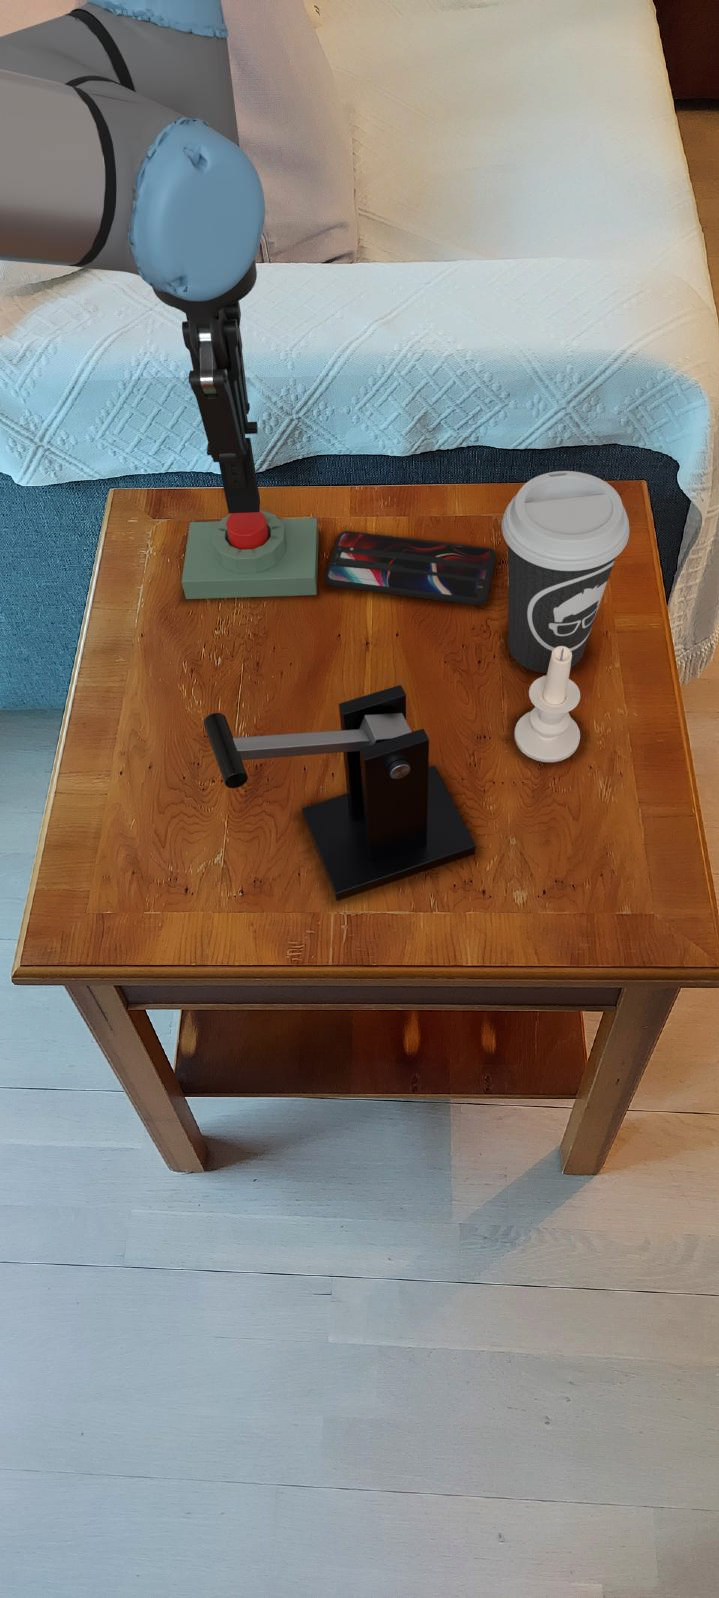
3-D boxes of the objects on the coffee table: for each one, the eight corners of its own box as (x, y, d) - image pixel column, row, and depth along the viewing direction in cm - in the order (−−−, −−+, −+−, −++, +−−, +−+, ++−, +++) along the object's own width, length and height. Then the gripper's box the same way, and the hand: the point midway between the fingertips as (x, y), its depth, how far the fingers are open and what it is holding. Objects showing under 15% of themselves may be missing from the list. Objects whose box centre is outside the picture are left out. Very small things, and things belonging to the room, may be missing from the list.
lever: (221, 794, 61) (228, 768, 59) (200, 734, 63) (206, 707, 62) (410, 776, 66) (422, 752, 64) (383, 722, 69) (394, 697, 67)
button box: (185, 599, 91) (177, 566, 88) (194, 540, 96) (186, 506, 93) (316, 595, 91) (313, 561, 88) (318, 535, 95) (315, 501, 92)
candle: (577, 766, 79) (598, 679, 70) (511, 759, 80) (523, 671, 71) (581, 715, 82) (600, 625, 73) (516, 708, 82) (529, 618, 74)
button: (227, 550, 89) (224, 535, 88) (230, 524, 91) (227, 508, 90) (267, 549, 89) (265, 534, 88) (269, 522, 91) (267, 507, 90)
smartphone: (486, 602, 88) (322, 581, 91) (486, 607, 89) (322, 586, 91) (497, 547, 92) (340, 528, 95) (497, 553, 93) (340, 534, 95)
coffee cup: (609, 615, 88) (641, 473, 76) (593, 696, 83) (625, 558, 70) (501, 597, 90) (516, 456, 77) (480, 676, 85) (492, 537, 72)
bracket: (336, 901, 73) (322, 794, 62) (302, 816, 77) (283, 701, 66) (475, 854, 75) (486, 741, 63) (434, 773, 79) (438, 654, 68)
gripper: (244, 277, 64) (283, 556, 84) (255, 181, 72) (289, 458, 91) (129, 282, 65) (195, 559, 84) (152, 186, 72) (208, 461, 92)
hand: (244, 506), depth 88 cm, fingers closed
